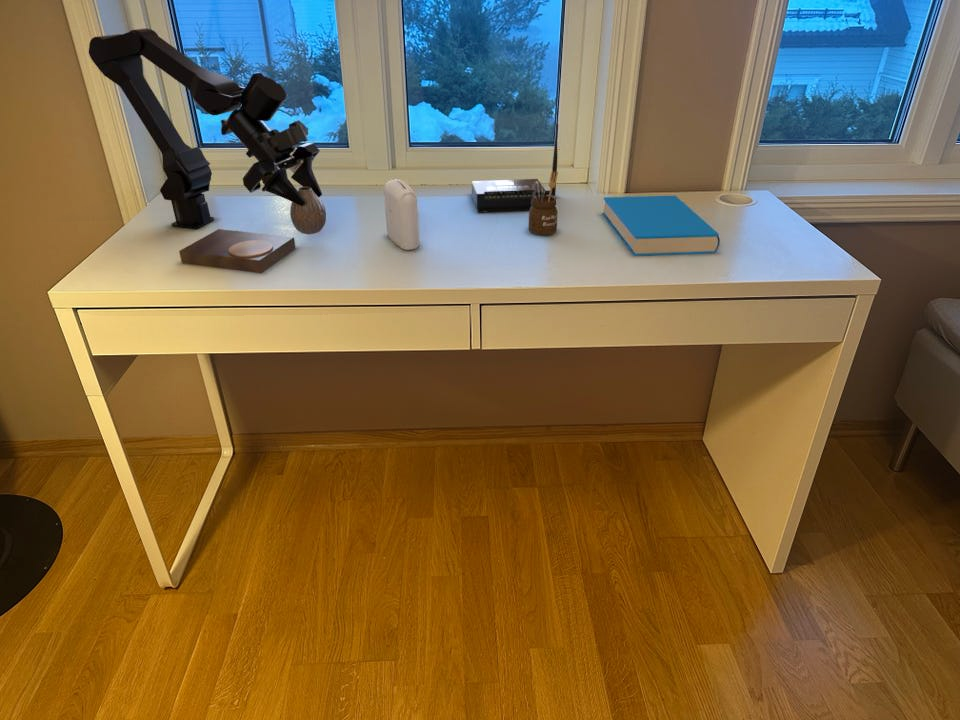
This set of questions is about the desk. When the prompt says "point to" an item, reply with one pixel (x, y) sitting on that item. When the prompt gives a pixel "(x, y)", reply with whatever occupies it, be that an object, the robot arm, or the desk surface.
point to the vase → (308, 212)
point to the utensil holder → (543, 212)
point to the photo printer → (401, 214)
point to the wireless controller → (510, 191)
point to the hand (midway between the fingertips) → (312, 200)
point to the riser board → (238, 250)
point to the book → (659, 226)
